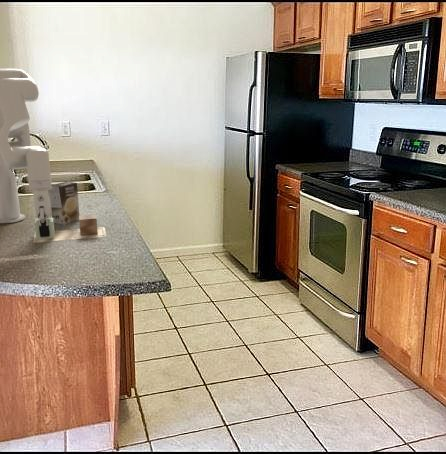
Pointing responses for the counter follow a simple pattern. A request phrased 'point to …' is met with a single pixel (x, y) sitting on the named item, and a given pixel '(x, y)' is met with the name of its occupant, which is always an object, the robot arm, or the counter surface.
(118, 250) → the counter surface
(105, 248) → the counter surface
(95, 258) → the counter surface
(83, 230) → the walnut block
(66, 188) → the coffee box
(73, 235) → the board
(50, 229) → the sage block
